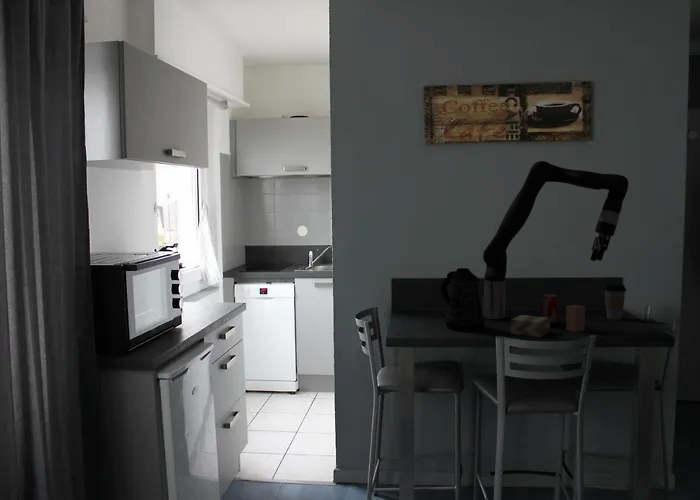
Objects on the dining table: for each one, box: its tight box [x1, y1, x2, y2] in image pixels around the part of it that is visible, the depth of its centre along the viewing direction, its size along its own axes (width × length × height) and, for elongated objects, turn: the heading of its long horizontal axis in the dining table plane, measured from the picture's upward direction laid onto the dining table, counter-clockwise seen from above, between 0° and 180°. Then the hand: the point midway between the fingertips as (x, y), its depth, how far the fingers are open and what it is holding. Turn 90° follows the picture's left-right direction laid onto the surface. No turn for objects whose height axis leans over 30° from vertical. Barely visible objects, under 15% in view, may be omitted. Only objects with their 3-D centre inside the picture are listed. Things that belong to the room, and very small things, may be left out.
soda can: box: [540, 293, 559, 324], centre depth 273 cm, size 7×7×12 cm
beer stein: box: [439, 267, 486, 332], centre depth 264 cm, size 16×19×25 cm
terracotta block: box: [565, 304, 586, 333], centre depth 256 cm, size 5×5×10 cm
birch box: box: [510, 314, 551, 338], centre depth 253 cm, size 12×12×6 cm
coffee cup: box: [603, 283, 627, 321], centre depth 280 cm, size 9×9×15 cm
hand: (595, 260), depth 257 cm, fingers open, 8 cm apart
